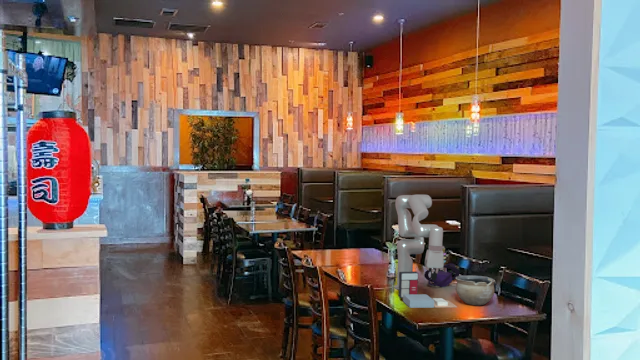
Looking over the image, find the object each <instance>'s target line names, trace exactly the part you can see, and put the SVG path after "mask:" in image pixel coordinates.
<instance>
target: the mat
mask: <svg viewBox="0 0 640 360" xmlns="http://www.w3.org/2000/svg"><path fill="white" fill-rule="evenodd" d="M444 300H445V299H444ZM445 301H447V302H448V306H437V305H436V304H435V303H434V308H458V306H457V305H456V304H454V303H453V302H452V301H450V300H447V299H446V300H445Z"/></svg>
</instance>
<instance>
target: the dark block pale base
mask: <svg viewBox="0 0 640 360" xmlns="http://www.w3.org/2000/svg"><path fill="white" fill-rule="evenodd" d="M418 289H419V272H418V271H413V272H399V289H398V297H399V298H401V299H403V294H419V293H418V291H419V290H418Z"/></svg>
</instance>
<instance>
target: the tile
mask: <svg viewBox="0 0 640 360" xmlns="http://www.w3.org/2000/svg"><path fill="white" fill-rule="evenodd" d="M431 298H432V299H433V300H434V303H435V304H436V305H437V306H448V302H447V301H445V299H444V298H441V297H431Z"/></svg>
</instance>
